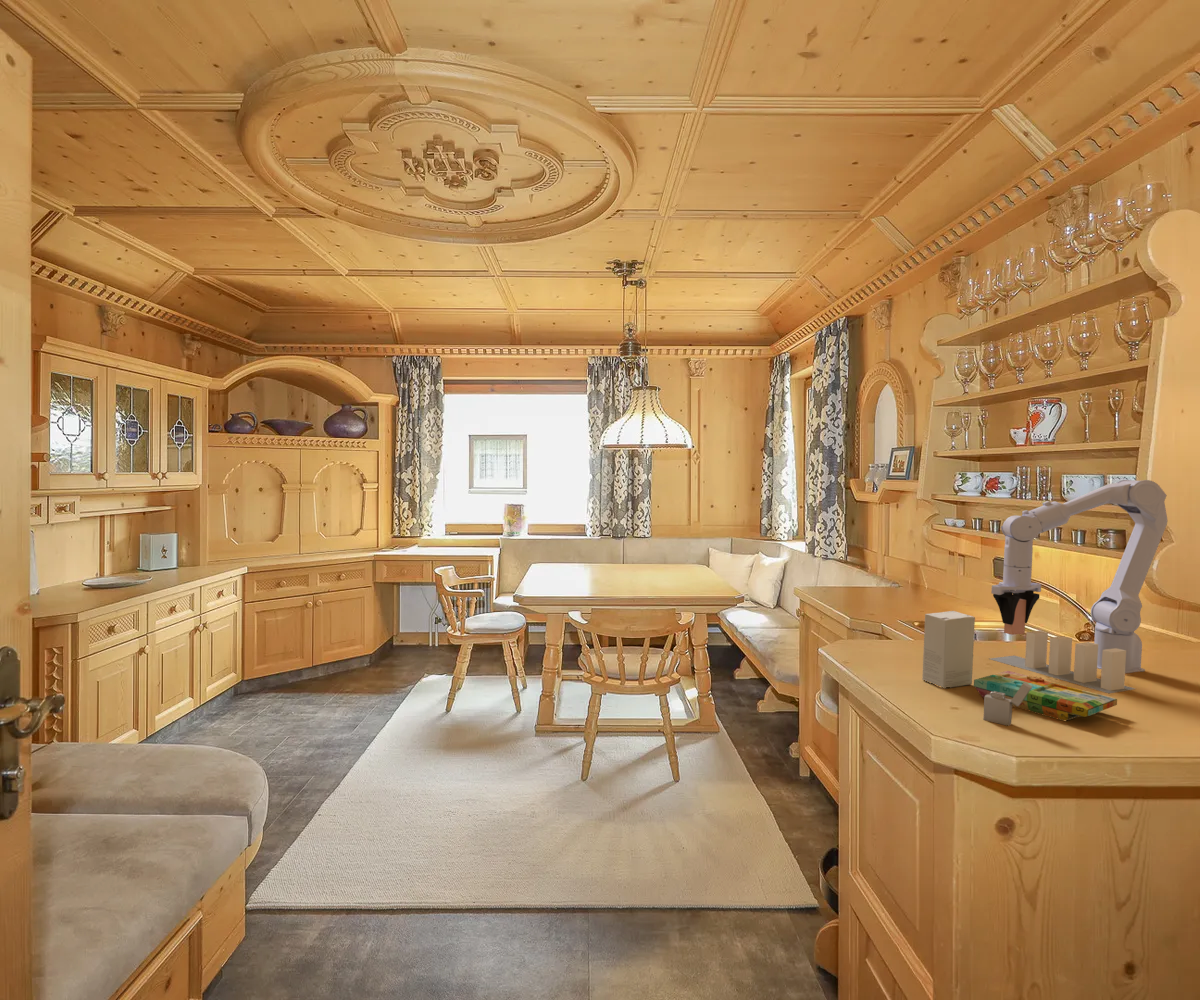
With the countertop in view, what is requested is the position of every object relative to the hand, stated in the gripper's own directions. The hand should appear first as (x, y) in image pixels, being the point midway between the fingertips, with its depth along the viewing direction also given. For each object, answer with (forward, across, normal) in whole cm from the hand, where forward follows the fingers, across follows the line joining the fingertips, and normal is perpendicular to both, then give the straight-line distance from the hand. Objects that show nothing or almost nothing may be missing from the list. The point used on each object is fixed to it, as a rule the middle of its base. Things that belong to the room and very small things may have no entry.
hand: (1014, 623), depth 163 cm
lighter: (+10, +40, +28) cm, 50 cm away
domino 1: (+2, 0, 0) cm, 2 cm away
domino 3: (+9, 0, +11) cm, 14 cm away
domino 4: (+9, 0, +16) cm, 19 cm away
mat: (+9, 0, +10) cm, 14 cm away
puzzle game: (+10, +25, +24) cm, 36 cm away
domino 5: (+9, 0, +22) cm, 24 cm away
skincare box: (+10, +30, +7) cm, 32 cm away
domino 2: (+9, 0, +6) cm, 11 cm away
